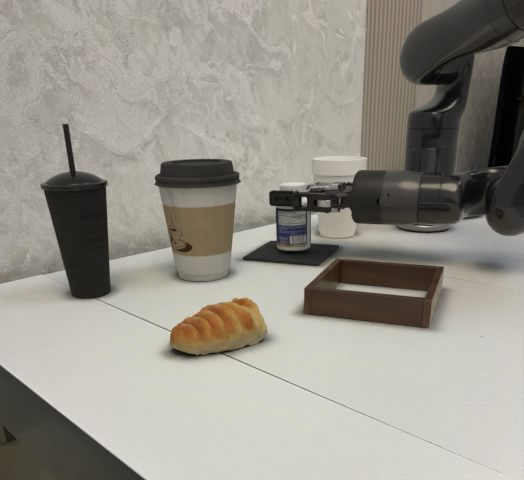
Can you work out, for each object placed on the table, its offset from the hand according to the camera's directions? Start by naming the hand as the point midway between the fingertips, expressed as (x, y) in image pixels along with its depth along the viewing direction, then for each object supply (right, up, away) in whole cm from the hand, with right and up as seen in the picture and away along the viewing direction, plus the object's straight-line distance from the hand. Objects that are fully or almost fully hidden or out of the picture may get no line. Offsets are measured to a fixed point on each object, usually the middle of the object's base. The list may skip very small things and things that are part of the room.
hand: (277, 195), depth 84 cm
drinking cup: (-24, -17, -14) cm, 32 cm away
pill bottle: (+3, -8, +2) cm, 9 cm away
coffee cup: (-11, -13, -7) cm, 18 cm away
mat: (+2, -8, +3) cm, 9 cm away
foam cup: (+11, -3, +15) cm, 19 cm away
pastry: (-6, -23, -29) cm, 38 cm away
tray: (+11, -18, -19) cm, 29 cm away
